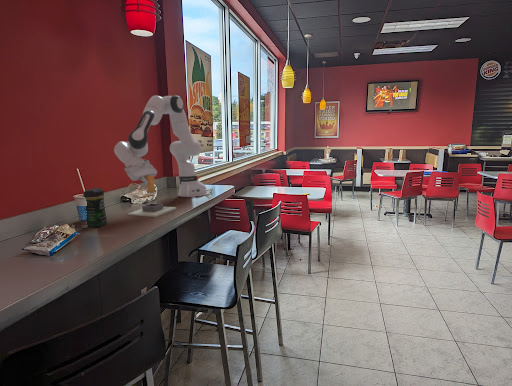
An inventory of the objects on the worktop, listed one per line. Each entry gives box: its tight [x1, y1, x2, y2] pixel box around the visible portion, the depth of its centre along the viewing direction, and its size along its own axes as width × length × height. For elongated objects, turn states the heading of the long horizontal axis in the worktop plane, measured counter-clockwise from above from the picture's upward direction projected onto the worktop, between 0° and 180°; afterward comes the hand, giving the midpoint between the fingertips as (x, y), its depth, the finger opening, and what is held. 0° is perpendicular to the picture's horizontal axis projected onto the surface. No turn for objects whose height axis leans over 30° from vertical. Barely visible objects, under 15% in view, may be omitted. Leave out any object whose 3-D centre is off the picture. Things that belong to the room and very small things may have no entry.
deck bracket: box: [127, 202, 177, 218], centre depth 192 cm, size 18×20×4 cm
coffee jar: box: [82, 187, 108, 229], centre depth 165 cm, size 10×8×19 cm
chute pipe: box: [145, 176, 156, 193], centre depth 190 cm, size 4×4×9 cm
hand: (151, 182), depth 189 cm, fingers closed on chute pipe, 4 cm apart
